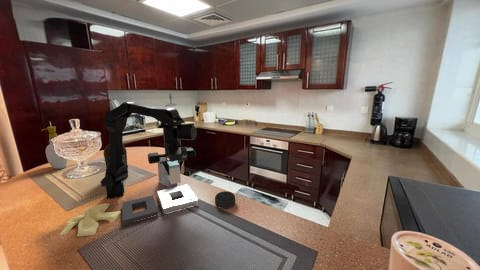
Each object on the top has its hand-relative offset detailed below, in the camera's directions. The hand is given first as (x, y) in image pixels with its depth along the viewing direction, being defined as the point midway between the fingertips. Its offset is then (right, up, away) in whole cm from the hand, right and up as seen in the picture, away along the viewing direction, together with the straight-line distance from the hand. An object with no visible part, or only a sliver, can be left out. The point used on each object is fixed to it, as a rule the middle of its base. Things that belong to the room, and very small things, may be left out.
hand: (173, 174), depth 85 cm
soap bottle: (-86, -4, +40) cm, 95 cm away
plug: (0, -3, +1) cm, 3 cm away
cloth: (-28, -16, -11) cm, 35 cm away
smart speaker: (+22, -14, +2) cm, 26 cm away
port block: (0, -13, +3) cm, 13 cm away
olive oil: (-40, -8, +26) cm, 48 cm away
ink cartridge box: (-10, -9, +20) cm, 24 cm away
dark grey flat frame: (-13, -14, -4) cm, 20 cm away
